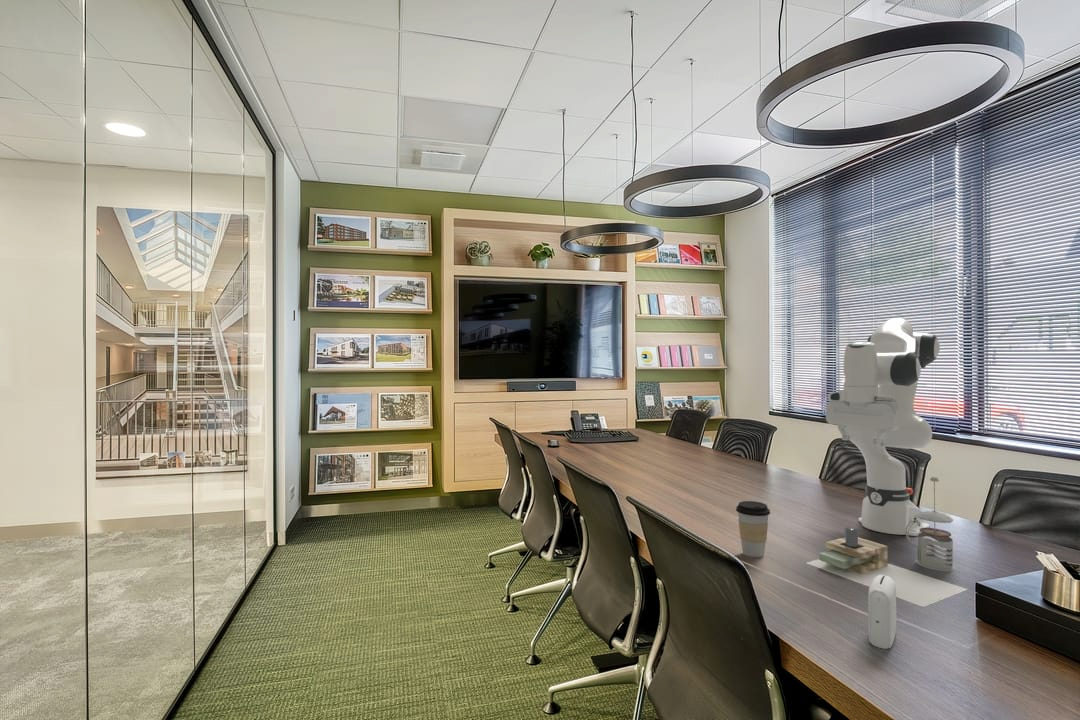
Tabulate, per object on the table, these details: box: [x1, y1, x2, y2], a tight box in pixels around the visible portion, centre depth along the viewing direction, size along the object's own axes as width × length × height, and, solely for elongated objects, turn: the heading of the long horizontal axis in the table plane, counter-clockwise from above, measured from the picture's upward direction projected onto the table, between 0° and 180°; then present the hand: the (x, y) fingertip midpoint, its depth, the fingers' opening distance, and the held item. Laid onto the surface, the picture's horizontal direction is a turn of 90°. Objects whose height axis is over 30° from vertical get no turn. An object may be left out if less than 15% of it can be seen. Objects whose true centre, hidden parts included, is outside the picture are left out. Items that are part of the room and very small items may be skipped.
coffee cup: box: [735, 500, 771, 558], centre depth 155 cm, size 9×9×15 cm
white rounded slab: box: [867, 575, 897, 650], centre depth 108 cm, size 10×4×12 cm, turn 140°
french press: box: [905, 476, 957, 572], centre depth 146 cm, size 10×12×25 cm
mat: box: [806, 558, 969, 608], centre depth 138 cm, size 20×30×1 cm, turn 27°
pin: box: [844, 526, 859, 549], centre depth 145 cm, size 3×3×10 cm
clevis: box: [818, 536, 888, 574], centre depth 145 cm, size 17×10×6 cm, turn 117°
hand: (861, 442), depth 156 cm, fingers open, 8 cm apart
